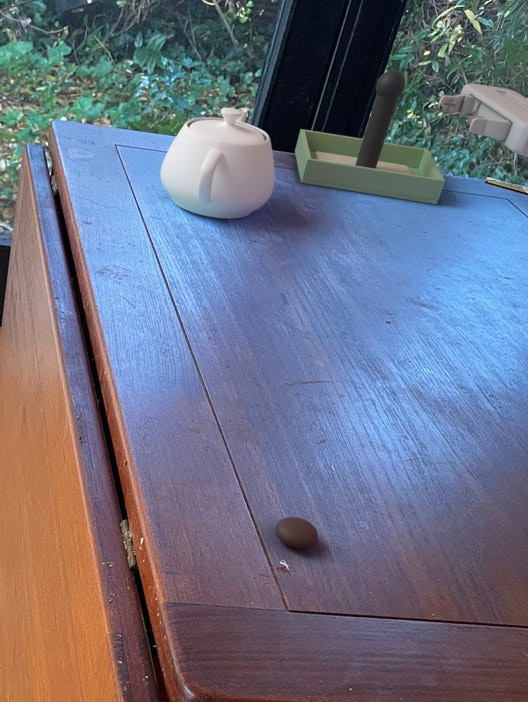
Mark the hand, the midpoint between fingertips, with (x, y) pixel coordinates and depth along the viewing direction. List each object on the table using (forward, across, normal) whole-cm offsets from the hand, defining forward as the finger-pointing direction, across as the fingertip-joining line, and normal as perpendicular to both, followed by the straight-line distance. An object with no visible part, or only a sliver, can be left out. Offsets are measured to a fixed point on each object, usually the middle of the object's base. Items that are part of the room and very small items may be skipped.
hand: (455, 113), depth 133 cm
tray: (+10, 0, +9) cm, 13 cm away
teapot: (+35, +15, +9) cm, 39 cm away
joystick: (+10, 0, +8) cm, 13 cm away
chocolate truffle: (+45, +84, +9) cm, 96 cm away
